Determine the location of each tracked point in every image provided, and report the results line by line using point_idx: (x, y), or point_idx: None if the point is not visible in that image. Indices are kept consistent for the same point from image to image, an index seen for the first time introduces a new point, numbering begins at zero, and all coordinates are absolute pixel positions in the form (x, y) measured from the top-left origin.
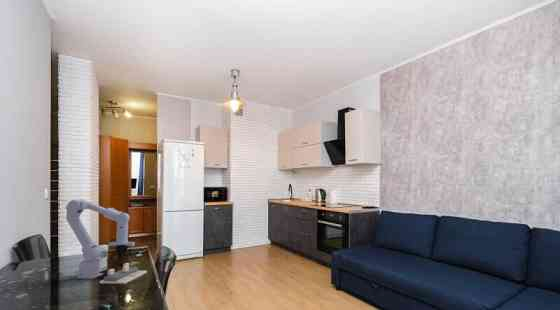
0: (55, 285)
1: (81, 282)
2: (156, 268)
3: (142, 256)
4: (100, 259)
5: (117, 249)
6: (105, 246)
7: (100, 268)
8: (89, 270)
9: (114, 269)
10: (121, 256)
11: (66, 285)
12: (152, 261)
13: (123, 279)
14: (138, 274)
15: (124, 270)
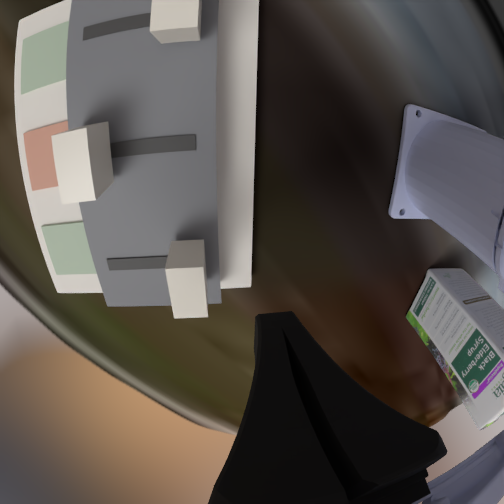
0: (497, 31)
1: (421, 34)
2: (87, 356)
3: None
4: (473, 320)
5: (370, 439)
6: (493, 411)
7: (437, 282)
8: (473, 132)
9: (150, 31)
10: (257, 348)
11: (456, 4)
12: (225, 428)
13: (48, 41)
14: (33, 199)
15: (81, 127)
